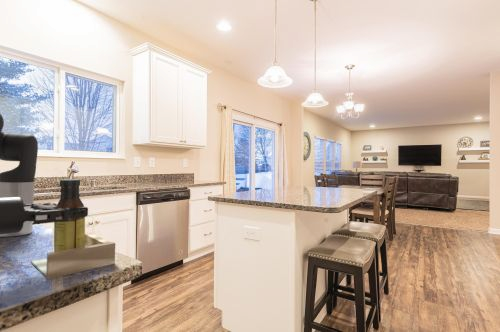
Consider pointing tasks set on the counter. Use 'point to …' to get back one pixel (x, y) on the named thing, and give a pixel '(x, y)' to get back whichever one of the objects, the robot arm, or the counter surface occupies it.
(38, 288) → the counter surface
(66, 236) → the sauce bottle
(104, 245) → the beige l-shaped piece
